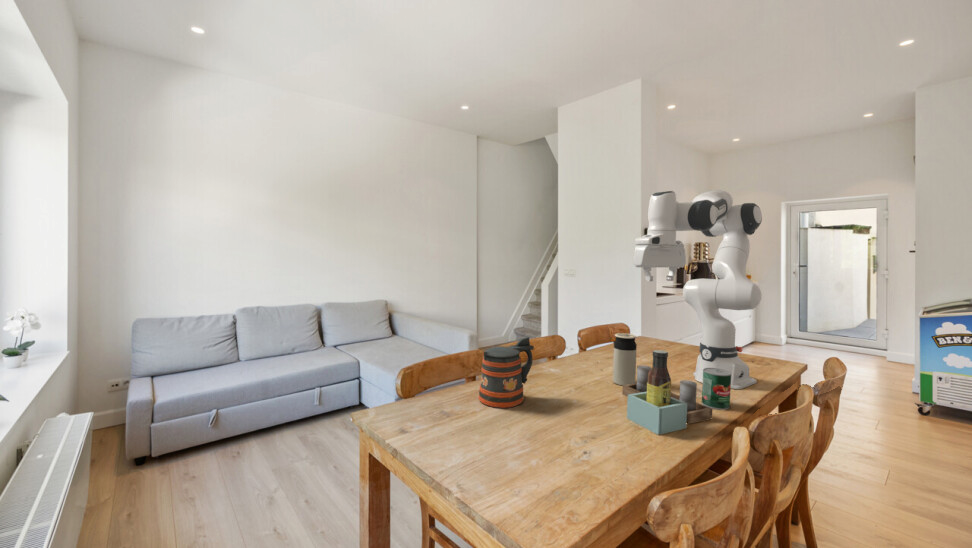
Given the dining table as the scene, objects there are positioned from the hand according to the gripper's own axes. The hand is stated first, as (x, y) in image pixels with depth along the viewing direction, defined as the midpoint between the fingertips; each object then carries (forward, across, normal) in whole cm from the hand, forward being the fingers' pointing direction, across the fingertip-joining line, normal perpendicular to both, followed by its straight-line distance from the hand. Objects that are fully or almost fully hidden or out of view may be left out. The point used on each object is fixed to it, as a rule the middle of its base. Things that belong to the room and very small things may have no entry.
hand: (659, 281), depth 134 cm
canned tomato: (+39, -11, +14) cm, 43 cm away
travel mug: (+39, +1, -14) cm, 42 cm away
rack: (+39, +5, +8) cm, 40 cm away
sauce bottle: (+39, +17, +16) cm, 45 cm away
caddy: (+39, +18, +17) cm, 46 cm away
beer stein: (+39, +49, -16) cm, 65 cm away
